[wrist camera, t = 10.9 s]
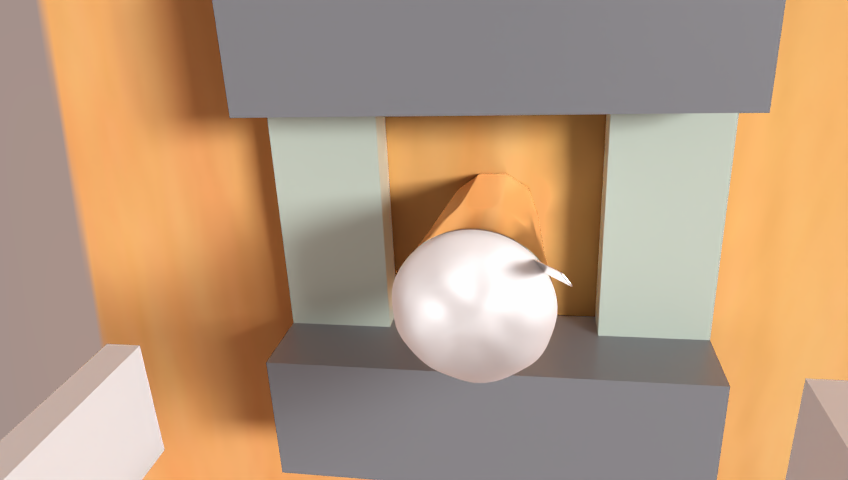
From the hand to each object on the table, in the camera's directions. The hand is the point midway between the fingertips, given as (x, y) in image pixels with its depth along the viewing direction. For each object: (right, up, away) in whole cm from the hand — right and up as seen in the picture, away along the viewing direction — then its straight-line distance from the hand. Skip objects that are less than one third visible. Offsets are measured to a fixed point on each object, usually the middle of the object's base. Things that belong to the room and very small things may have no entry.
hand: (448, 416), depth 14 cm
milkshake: (+3, +5, +13) cm, 14 cm away
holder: (+2, +5, +12) cm, 14 cm away
